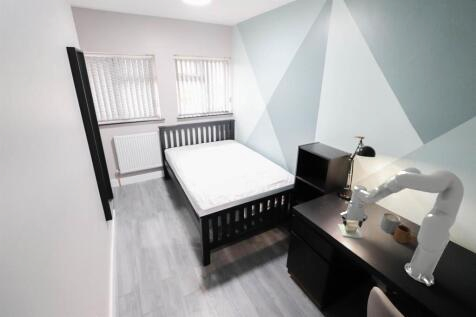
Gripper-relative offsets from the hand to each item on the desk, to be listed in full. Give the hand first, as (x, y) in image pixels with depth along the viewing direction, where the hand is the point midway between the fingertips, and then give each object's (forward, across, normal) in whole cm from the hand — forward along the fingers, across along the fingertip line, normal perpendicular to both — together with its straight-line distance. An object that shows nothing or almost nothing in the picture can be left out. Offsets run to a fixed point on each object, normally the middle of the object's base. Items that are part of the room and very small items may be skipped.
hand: (351, 225), depth 148 cm
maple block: (+5, 0, +1) cm, 5 cm away
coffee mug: (+6, +29, +8) cm, 31 cm away
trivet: (+6, -1, +1) cm, 6 cm away
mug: (+6, +31, -4) cm, 32 cm away
